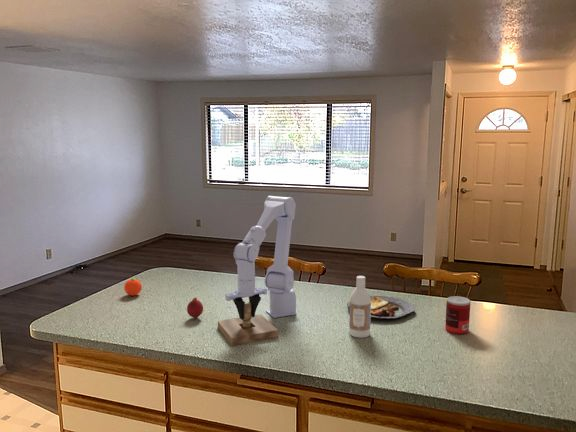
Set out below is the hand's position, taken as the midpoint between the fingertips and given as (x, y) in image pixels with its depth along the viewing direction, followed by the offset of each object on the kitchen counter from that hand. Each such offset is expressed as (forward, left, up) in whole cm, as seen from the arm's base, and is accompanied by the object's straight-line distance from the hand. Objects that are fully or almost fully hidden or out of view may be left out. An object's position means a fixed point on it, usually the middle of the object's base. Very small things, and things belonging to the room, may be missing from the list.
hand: (247, 317), depth 170 cm
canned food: (-66, +28, -6) cm, 72 cm away
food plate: (-53, +1, -6) cm, 53 cm away
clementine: (+30, -57, -6) cm, 65 cm away
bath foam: (-34, +17, -6) cm, 38 cm away
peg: (0, 0, -3) cm, 3 cm away
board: (0, 0, -5) cm, 5 cm away
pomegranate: (+13, -20, -6) cm, 24 cm away
